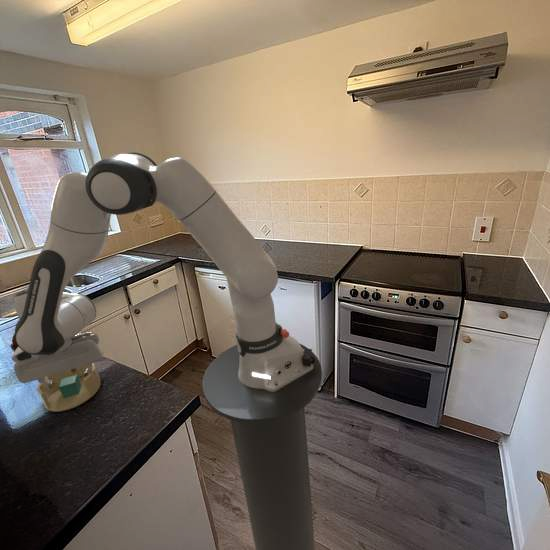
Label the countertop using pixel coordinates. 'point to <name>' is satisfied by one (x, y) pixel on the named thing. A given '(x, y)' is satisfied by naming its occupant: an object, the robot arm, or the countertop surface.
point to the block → (70, 386)
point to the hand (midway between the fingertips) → (70, 381)
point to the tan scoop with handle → (58, 403)
